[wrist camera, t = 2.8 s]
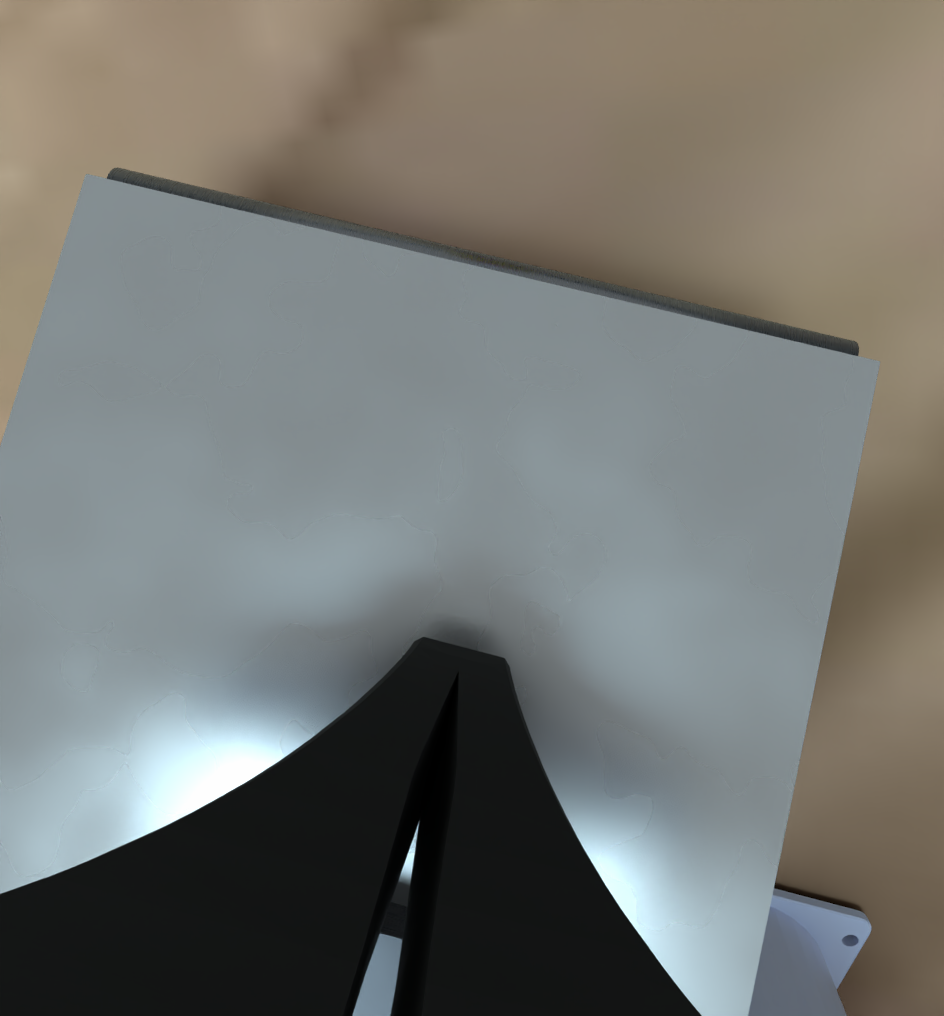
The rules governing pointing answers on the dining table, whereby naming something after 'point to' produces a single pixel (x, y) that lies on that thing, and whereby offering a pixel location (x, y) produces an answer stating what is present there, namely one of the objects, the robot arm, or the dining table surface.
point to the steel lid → (416, 541)
